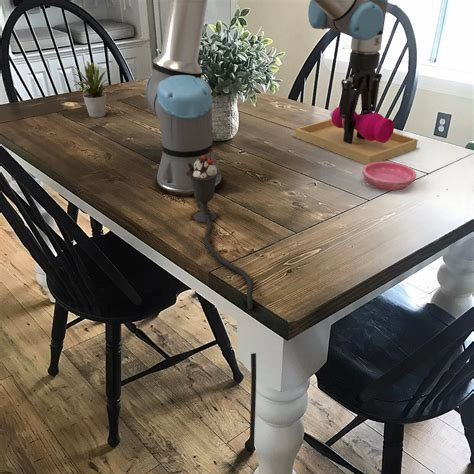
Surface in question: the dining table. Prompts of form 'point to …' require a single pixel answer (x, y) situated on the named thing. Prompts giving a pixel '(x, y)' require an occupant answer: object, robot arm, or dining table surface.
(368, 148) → the tray
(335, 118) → the pepper mill
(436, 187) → the dining table surface
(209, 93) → the robot arm
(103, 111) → the house plant
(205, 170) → the sundae
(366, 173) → the saucer
